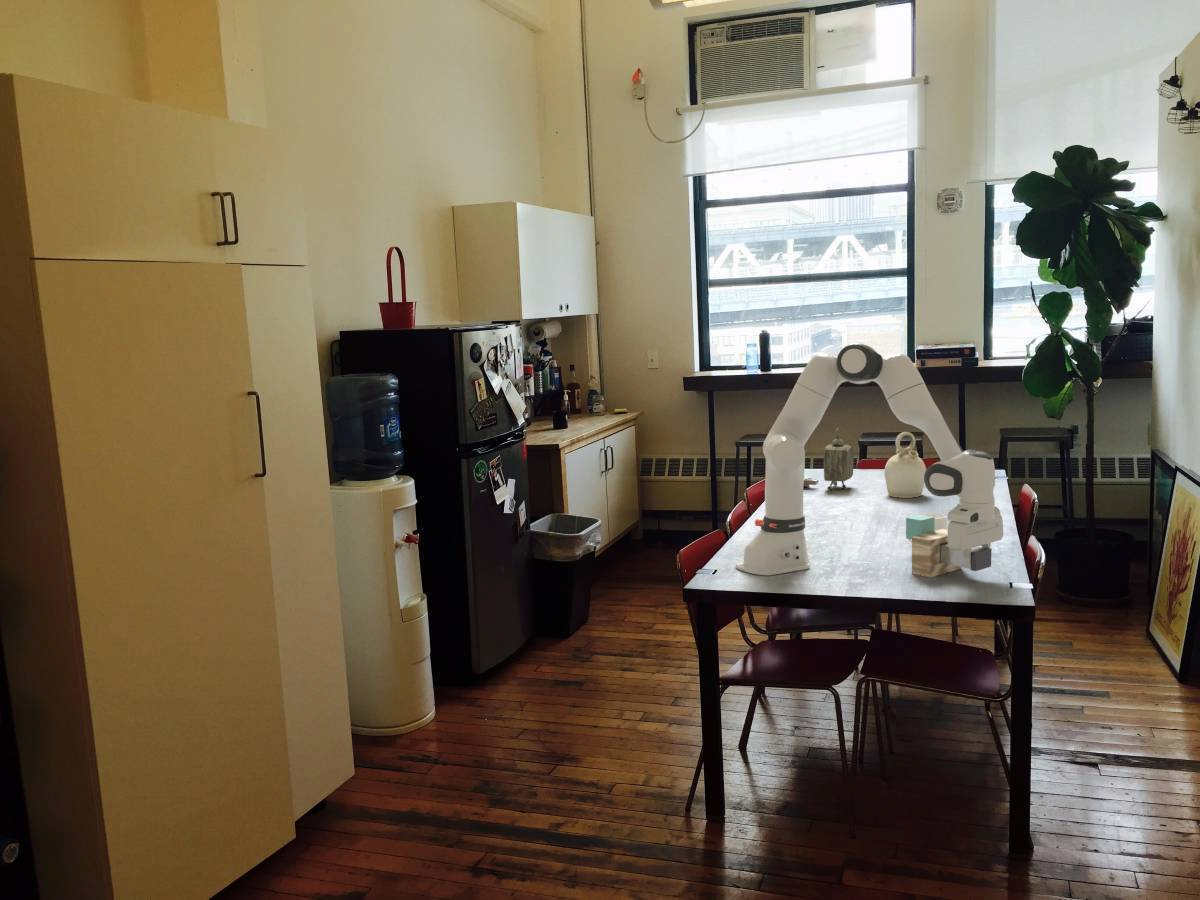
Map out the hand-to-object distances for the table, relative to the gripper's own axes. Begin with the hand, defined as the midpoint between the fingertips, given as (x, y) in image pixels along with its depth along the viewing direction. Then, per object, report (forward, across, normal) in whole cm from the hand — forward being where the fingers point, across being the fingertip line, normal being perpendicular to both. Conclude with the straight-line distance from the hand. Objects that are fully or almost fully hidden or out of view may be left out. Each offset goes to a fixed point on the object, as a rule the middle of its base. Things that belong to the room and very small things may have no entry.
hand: (975, 561), depth 267 cm
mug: (+6, -13, -25) cm, 29 cm away
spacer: (-3, 0, -18) cm, 18 cm away
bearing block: (+5, 0, -12) cm, 13 cm away
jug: (+6, -83, -87) cm, 121 cm away
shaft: (+2, 0, -8) cm, 8 cm away
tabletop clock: (+6, -77, -115) cm, 139 cm away
